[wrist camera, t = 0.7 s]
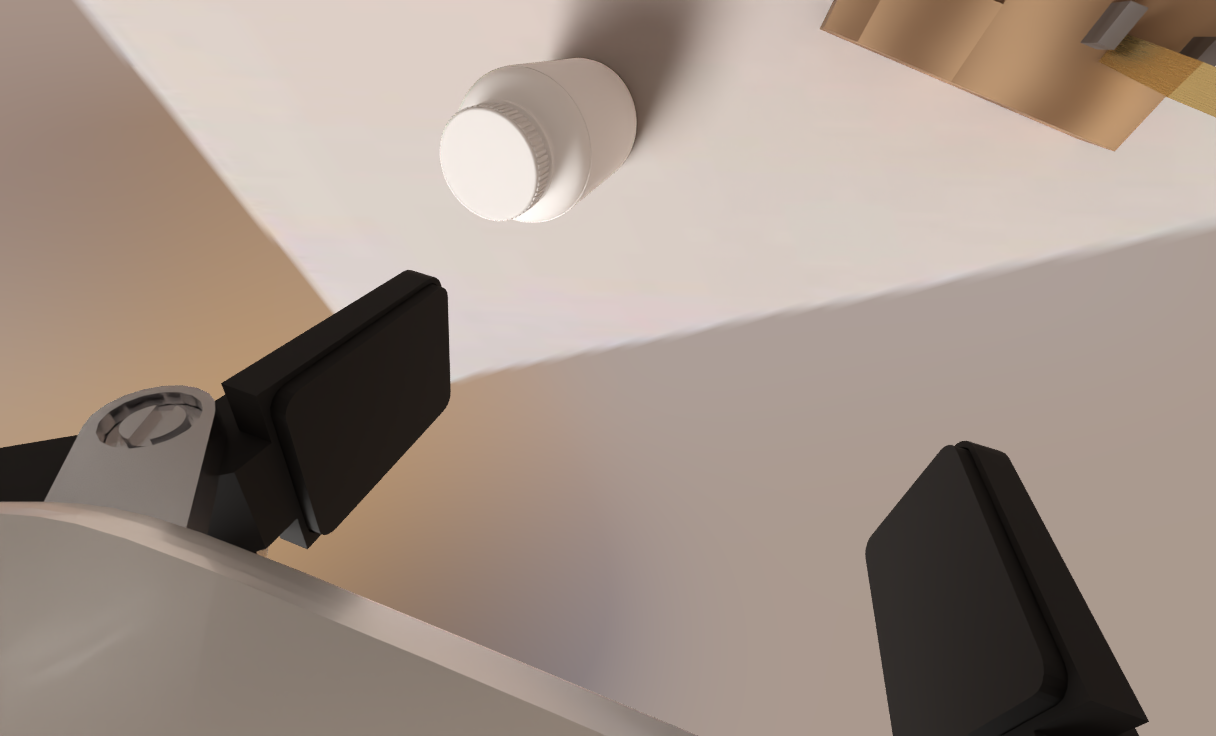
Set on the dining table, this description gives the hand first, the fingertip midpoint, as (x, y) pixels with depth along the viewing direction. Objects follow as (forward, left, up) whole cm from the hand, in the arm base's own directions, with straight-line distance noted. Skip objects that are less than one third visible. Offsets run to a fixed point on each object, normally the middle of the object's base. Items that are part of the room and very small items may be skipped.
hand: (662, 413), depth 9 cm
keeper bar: (+14, +11, -22) cm, 28 cm away
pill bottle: (-11, -3, -30) cm, 32 cm away
